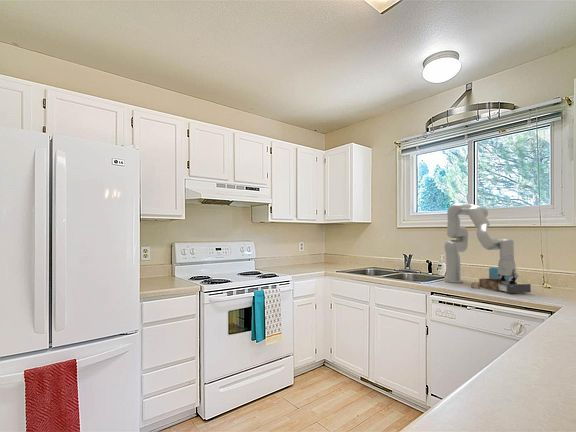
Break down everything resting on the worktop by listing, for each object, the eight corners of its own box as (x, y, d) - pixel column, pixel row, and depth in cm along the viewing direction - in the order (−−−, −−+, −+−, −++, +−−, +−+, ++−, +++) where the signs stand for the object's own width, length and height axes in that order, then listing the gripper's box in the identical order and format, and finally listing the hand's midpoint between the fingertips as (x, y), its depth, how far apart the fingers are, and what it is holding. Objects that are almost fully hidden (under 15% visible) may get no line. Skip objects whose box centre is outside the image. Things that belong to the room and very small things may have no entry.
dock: (517, 290, 200) (516, 282, 200) (497, 291, 199) (496, 282, 199) (498, 286, 216) (497, 278, 216) (479, 286, 215) (479, 278, 215)
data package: (509, 284, 222) (509, 268, 222) (509, 285, 218) (508, 268, 219) (489, 283, 229) (489, 266, 230) (489, 283, 226) (488, 267, 226)
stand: (469, 287, 212) (469, 282, 212) (476, 287, 213) (475, 282, 213) (474, 288, 208) (474, 283, 208) (481, 288, 208) (480, 283, 208)
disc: (498, 284, 202) (498, 281, 202) (508, 283, 203) (508, 280, 203) (506, 286, 195) (506, 282, 195) (516, 285, 196) (516, 282, 196)
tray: (530, 292, 191) (530, 284, 191) (508, 292, 189) (508, 284, 189) (509, 287, 207) (509, 279, 207) (488, 287, 205) (488, 280, 206)
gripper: (491, 257, 208) (492, 283, 207) (512, 259, 191) (513, 288, 190) (501, 256, 209) (502, 283, 208) (523, 259, 192) (524, 288, 191)
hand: (507, 285), depth 199 cm, fingers closed on disc, 6 cm apart
